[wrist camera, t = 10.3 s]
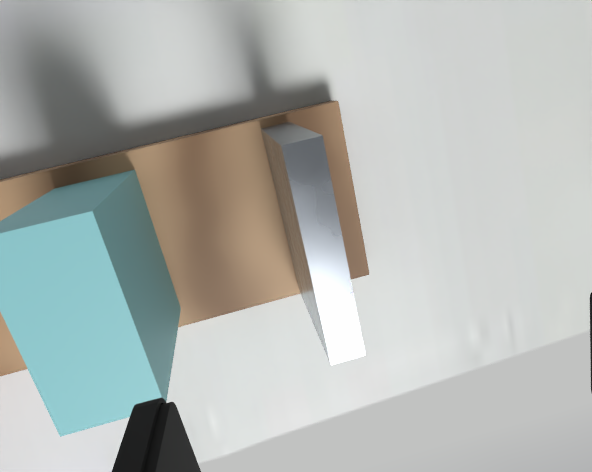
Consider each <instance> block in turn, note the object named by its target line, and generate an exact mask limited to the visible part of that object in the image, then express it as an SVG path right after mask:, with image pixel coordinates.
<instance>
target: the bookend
mask: <svg viewBox="0 0 592 472" xmlns="http://www.w3.org/2000/svg"><path fill="white" fill-rule="evenodd" d="M261 132H262V136H263V141H264V145H265V149H266V153H267V157H268V161H269V166H270V170H271V174H272V178H273V182H274V187H275V191H276V195H277V199H278V203H279V207H280V212H281V216H282V220H283V224H284V228H285V232H286V237H287V241H288V245H289V249H290V253H291V258H292V262H293V266H294V270H295V274H296V278H297V283H298V287H299V290H300V293H301V295H302V298H303V300H304V302H305V305H306V307H307V309H308V312H309V314H310V316H311V319H312V321H313V324H314V326H315V328H316V331H317V333H318V335H319V338H320V340H321V342H322V345H323V347H324V350H325V352H326V354H327V357H328V359H329V361H330V364H331V365H334V364H338V363H341V362H344V361H348V360H351V359H355V358H358V357H361V356H365V355H366V354H365V349H364V344H363V339H362V334H361V329H360V324H359V319H358V313H357V308H356V303H355V298H354V293H353V288H352V283H351V278H350V273H349V267H348V262H347V257H346V252H345V247H344V242H343V237H342V232H341V227H340V222H339V216H338V211H337V206H336V201H335V196H334V191H333V186H332V181H331V176H330V171H329V165H328V160H327V155H326V150H325V145H324V140H323V135H320V134H318V133H315V132H313V131H311V130H308V129H306V128H303V127H301V126H298V125H296V124H294V123H291V122H286V123H282V124H278V125H274V126H270V127H265V128H261Z"/></svg>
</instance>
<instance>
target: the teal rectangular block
mask: <svg viewBox="0 0 592 472" xmlns="http://www.w3.org/2000/svg"><path fill="white" fill-rule="evenodd" d="M180 311H181V307H180V304H179V301H178V298H177V295H176V292H175V289H174V286H173V283H172V280H171V277H170V274H169V271H168V268H167V265H166V262H165V259H164V256H163V253H162V250H161V247H160V244H159V241H158V238H157V235H156V232H155V229H154V225H153V222H152V219H151V216H150V213H149V210H148V207H147V204H146V201H145V198H144V195H143V192H142V189H141V186H140V183H139V180H138V177H137V174H136V171H135V170H131V171H127V172H122V173H118V174H114V175H110V176H105V177H101V178H97V179H93V180H89V181H84V182H80V183H76V184H72V185H67V186H63V187H59V188H55V189H53V190H51V191H49V192H48V193H46V194H44V195H43V196H41V197H40V198H38V199H36V200H35V201H33V202H31V203H30V204H28V205H26V206H25V207H23V208H21V209H20V210H18V211H16V212H15V213H13V214H11V215H10V216H8V217H6V218H5V219H3V220H1V221H0V312H1V314H2V316H3V318H4V320H5V322H6V324H7V327H8V329H9V331H10V333H11V335H12V337H13V339H14V341H15V343H16V345H17V347H18V350H19V352H20V354H21V356H22V358H23V360H24V362H25V364H26V366H27V368H28V370H29V372H30V375H31V377H32V379H33V381H34V383H35V385H36V387H37V389H38V391H39V393H40V395H41V397H42V400H43V402H44V404H45V406H46V408H47V410H48V412H49V414H50V416H51V418H52V420H53V423H54V425H55V427H56V429H57V431H58V433H59V435H60V436H64V435H67V434H71V433H75V432H78V431H82V430H85V429H89V428H92V427H96V426H99V425H103V424H106V423H110V422H113V421H117V420H120V419H124V418H127V417H130V415H131V412H132V409H133V407H134V405H136V404H138V403H142V402H146V401H150V400H153V399H157V398H164V400H165V401H166V400H167V393H168V387H169V381H170V374H171V368H172V362H173V356H174V349H175V343H176V337H177V330H178V324H179V318H180Z"/></svg>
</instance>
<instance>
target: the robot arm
mask: <svg viewBox="0 0 592 472" xmlns="http://www.w3.org/2000/svg"><path fill="white" fill-rule="evenodd" d="M590 338H591V339H590V341H591V391H592V293H591V294H590ZM112 472H201V471H200V468H199V465H198V463H197V460H196V458H195V455H194V452H193V450H192V447H191V444H190V442H189V439H188V436H187V434H186V431H185V428H184V426H183V423H182V420H181V418H180V415H179V412H178V410H177V407H176V405H175V404H174V402H170V403H166V401H165V400H164V398H157V399H153V400H150V401H146V402H142V403H138V404H136V405H134V407H133V409H132V412H131V415H130V418H129V421H128V424H127V427H126V430H125V434H124V437H123V440H122V443H121V446H120V449H119V452H118V455H117V458H116V461H115V464H114V467H113V470H112Z"/></svg>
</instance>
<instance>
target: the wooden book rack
mask: <svg viewBox="0 0 592 472" xmlns="http://www.w3.org/2000/svg"><path fill="white" fill-rule="evenodd" d="M286 122H291V123H294V124H296V125H298V126H301V127H303V128H306V129H308V130H311V131H313V132H315V133H318V134H320V135H323V140H324V145H325V150H326V155H327V160H328V165H329V171H330V176H331V181H332V186H333V191H334V196H335V201H336V206H337V211H338V216H339V222H340V227H341V232H342V237H343V242H344V247H345V252H346V257H347V262H348V267H349V273H350V278H351V279H354V278H358V277H362V276H365V275H369V269H368V264H367V258H366V253H365V247H364V242H363V236H362V231H361V225H360V219H359V214H358V208H357V203H356V197H355V192H354V186H353V181H352V175H351V170H350V164H349V159H348V153H347V147H346V142H345V136H344V131H343V125H342V120H341V114H340V109H339V103H338V101H328V102H324V103H319V104H315V105H311V106H307V107H303V108H298V109H294V110H290V111H286V112H282V113H278V114H273V115H269V116H265V117H261V118H257V119H252V120H248V121H244V122H240V123H236V124H231V125H227V126H223V127H219V128H215V129H211V130H206V131H202V132H198V133H194V134H190V135H185V136H181V137H177V138H173V139H169V140H165V141H160V142H156V143H152V144H148V145H144V146H139V147H135V148H131V149H127V150H123V151H119V152H114V153H110V154H106V155H102V156H98V157H93V158H89V159H85V160H81V161H77V162H73V163H68V164H64V165H60V166H56V167H52V168H47V169H43V170H39V171H35V172H31V173H27V174H22V175H18V176H14V177H10V178H6V179H1V180H0V221H1V220H3V219H5V218H6V217H8V216H10V215H11V214H13V213H15V212H16V211H18V210H20V209H21V208H23V207H25V206H26V205H28V204H30V203H31V202H33V201H35V200H36V199H38V198H40V197H41V196H43V195H44V194H46V193H48V192H49V191H51V190H53V189H55V188H59V187H63V186H67V185H72V184H76V183H80V182H84V181H89V180H93V179H97V178H101V177H105V176H110V175H114V174H118V173H122V172H127V171H131V170H135V171H136V174H137V177H138V180H139V183H140V186H141V189H142V192H143V195H144V198H145V201H146V204H147V207H148V210H149V213H150V216H151V219H152V222H153V225H154V229H155V232H156V235H157V238H158V241H159V244H160V247H161V250H162V253H163V256H164V259H165V262H166V265H167V268H168V271H169V274H170V277H171V280H172V283H173V286H174V289H175V292H176V295H177V298H178V301H179V304H180V307H181V311H180V318H179V324H178V327H181V326H184V325H188V324H191V323H195V322H199V321H202V320H206V319H210V318H213V317H217V316H220V315H224V314H228V313H231V312H235V311H239V310H242V309H246V308H249V307H253V306H257V305H260V304H264V303H268V302H271V301H275V300H278V299H282V298H286V297H289V296H293V295H296V294H300V290H299V287H298V283H297V278H296V274H295V270H294V266H293V262H292V258H291V253H290V249H289V245H288V241H287V237H286V232H285V228H284V224H283V220H282V216H281V212H280V207H279V203H278V199H277V195H276V191H275V187H274V182H273V178H272V174H271V170H270V166H269V161H268V157H267V153H266V149H265V145H264V141H263V136H262V132H261V128H265V127H270V126H274V125H278V124H282V123H286ZM25 369H28V368H27V366H26V364H25V362H24V360H23V358H22V356H21V354H20V352H19V350H18V347H17V345H16V343H15V341H14V339H13V337H12V335H11V333H10V331H9V329H8V327H7V324H6V322H5V320H4V318H3V316H2V314H1V312H0V376H3V375H7V374H10V373H14V372H18V371H21V370H25Z"/></svg>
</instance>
